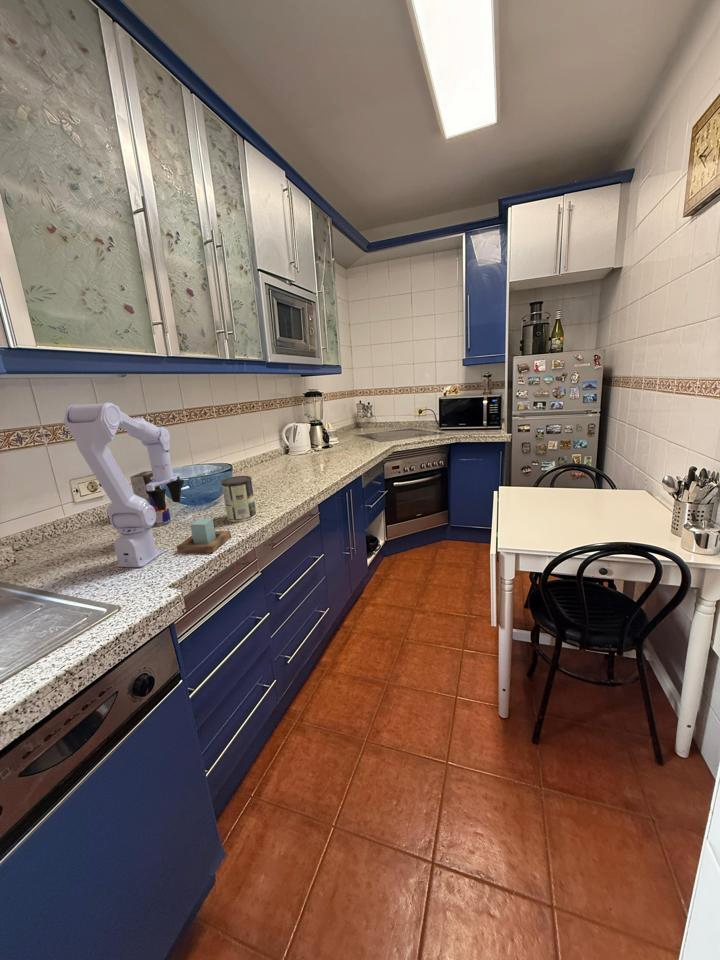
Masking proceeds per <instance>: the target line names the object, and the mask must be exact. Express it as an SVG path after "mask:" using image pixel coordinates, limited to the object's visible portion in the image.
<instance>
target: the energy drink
mask: <svg viewBox="0 0 720 960" xmlns="http://www.w3.org/2000/svg"><path fill="white" fill-rule="evenodd" d="M148 498H149V502H150V505H151V506H152V507H153V508H154V509H155V512H156V520H155V523H154V524H153V526H155V527H163V526H166V525H169V524H170V523H172V518H171V514H170V508H169V504H168V500H167V495H166V493H165V503H166V509H165V510H158V508H157V506H156V504H155V503H154V501H153V499H152V498H151V497H150V496H149V495H148Z"/></svg>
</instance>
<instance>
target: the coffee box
mask: <svg viewBox="0 0 720 960" xmlns="http://www.w3.org/2000/svg"><path fill="white" fill-rule="evenodd" d="M129 477H130V478H129V479H130V484H131V489H132V491H133V493H134V494H135V495H137V496H139V497H141V498H144V499H146V500H147V502H148V503H149V504H150V502H149V498H148V494H147V493H146V490H147V488H146V485H147V484H149V483H150V482H151V481H153V480H154V478H153V473H152V470H149V471H142V472H139V473H137V474H135V475H132V476H129ZM160 488H161V487H160ZM162 488H163V487H162ZM162 488H161V489H162Z"/></svg>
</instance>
